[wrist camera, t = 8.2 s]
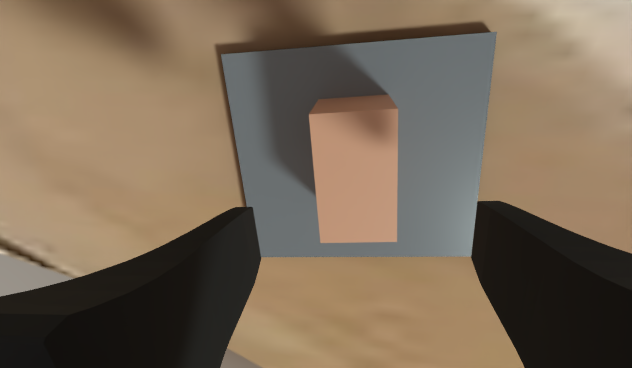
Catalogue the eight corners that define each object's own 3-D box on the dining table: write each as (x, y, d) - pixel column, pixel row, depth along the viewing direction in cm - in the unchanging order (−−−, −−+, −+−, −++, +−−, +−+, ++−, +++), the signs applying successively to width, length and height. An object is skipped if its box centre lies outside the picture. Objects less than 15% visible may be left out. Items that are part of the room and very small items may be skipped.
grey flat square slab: (491, 32, 16) (496, 31, 15) (467, 250, 20) (470, 256, 20) (225, 54, 17) (221, 54, 17) (257, 251, 22) (255, 257, 21)
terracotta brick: (388, 94, 17) (398, 108, 13) (388, 203, 19) (396, 241, 15) (318, 99, 17) (308, 114, 14) (326, 205, 19) (320, 242, 16)
